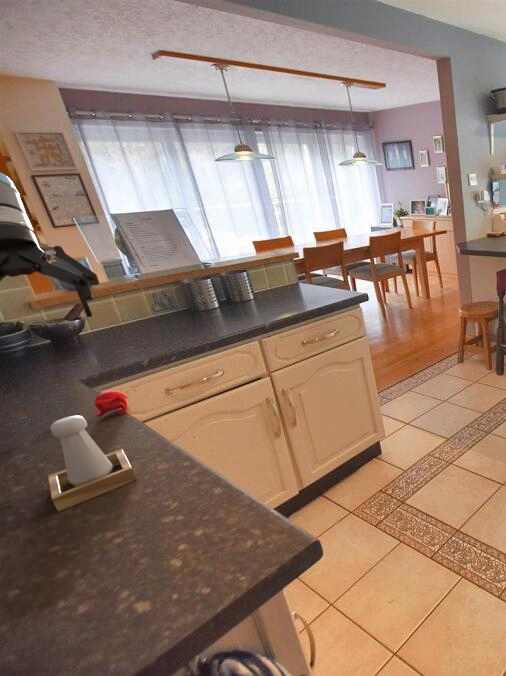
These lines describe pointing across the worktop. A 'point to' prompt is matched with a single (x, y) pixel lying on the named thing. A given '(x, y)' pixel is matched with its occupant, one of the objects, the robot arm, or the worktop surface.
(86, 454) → the salt shaker
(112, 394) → the cap
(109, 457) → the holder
